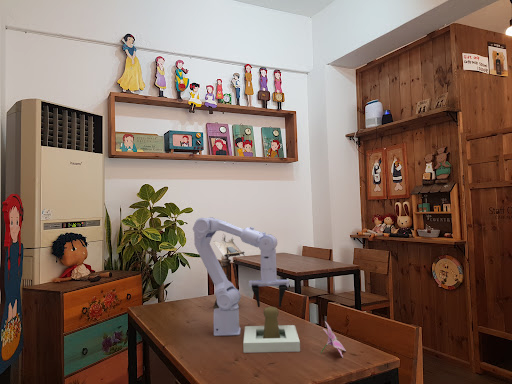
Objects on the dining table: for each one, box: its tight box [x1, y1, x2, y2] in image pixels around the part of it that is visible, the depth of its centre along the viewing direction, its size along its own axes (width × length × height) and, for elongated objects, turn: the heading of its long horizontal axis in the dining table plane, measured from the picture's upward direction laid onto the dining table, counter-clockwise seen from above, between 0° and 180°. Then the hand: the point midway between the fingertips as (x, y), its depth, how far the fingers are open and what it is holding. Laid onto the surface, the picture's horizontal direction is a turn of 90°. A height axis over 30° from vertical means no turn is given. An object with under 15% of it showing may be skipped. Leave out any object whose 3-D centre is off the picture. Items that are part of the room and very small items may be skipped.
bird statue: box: [212, 233, 245, 310], centre depth 179 cm, size 17×13×35 cm
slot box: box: [242, 324, 301, 354], centre depth 131 cm, size 18×18×3 cm
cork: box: [263, 306, 280, 339], centre depth 132 cm, size 6×6×11 cm
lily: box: [320, 320, 346, 358], centre depth 120 cm, size 11×11×9 cm
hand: (269, 306), depth 139 cm, fingers open, 7 cm apart
